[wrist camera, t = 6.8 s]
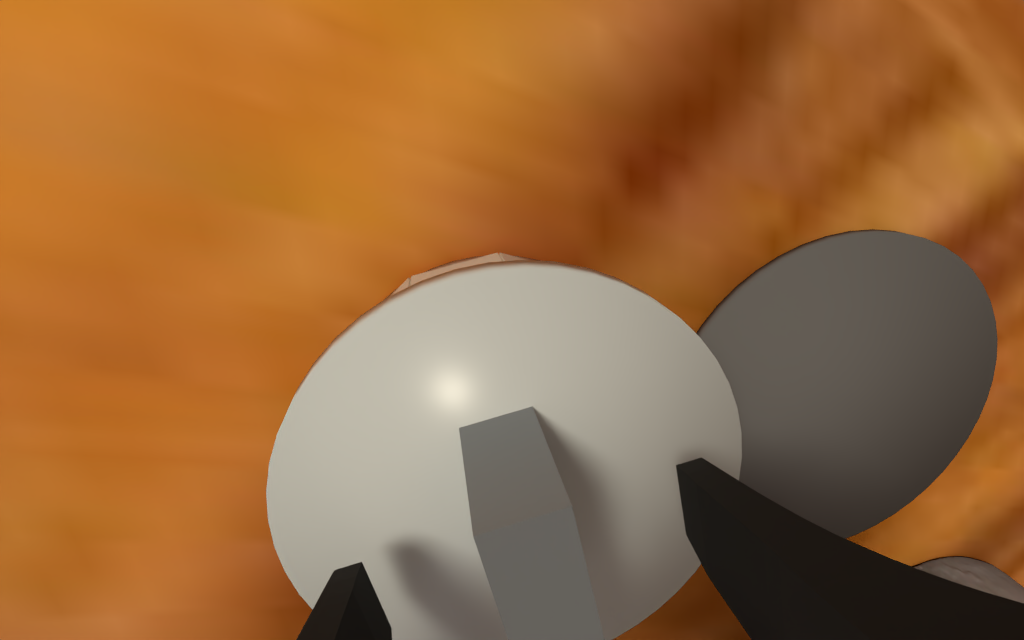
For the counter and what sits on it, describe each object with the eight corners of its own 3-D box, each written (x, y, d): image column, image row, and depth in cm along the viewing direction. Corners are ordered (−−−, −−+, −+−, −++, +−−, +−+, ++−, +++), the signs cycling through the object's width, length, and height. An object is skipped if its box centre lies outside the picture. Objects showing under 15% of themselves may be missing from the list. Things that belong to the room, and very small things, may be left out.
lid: (741, 576, 17) (842, 719, 13) (367, 697, 16) (350, 888, 12) (703, 200, 13) (838, 239, 9) (187, 342, 12) (69, 457, 8)
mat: (972, 489, 23) (981, 495, 23) (684, 581, 22) (689, 589, 22) (1003, 186, 18) (1015, 187, 18) (639, 288, 18) (644, 292, 17)
